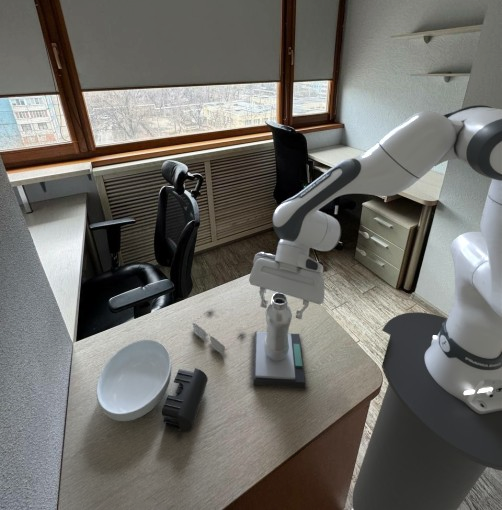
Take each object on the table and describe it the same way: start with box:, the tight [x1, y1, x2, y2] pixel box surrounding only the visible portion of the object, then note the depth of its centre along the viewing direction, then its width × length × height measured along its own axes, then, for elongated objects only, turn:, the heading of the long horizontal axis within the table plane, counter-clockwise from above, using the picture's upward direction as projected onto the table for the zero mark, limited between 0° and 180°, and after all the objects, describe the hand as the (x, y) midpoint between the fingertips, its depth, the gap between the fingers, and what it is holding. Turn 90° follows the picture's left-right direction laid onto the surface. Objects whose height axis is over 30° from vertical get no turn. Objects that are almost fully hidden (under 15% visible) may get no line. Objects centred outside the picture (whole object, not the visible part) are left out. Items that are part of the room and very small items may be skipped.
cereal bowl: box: [95, 339, 173, 422], centre depth 66 cm, size 17×17×7 cm
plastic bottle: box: [264, 292, 293, 361], centre depth 69 cm, size 6×7×20 cm
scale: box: [252, 331, 306, 389], centre depth 74 cm, size 13×13×3 cm
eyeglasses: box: [191, 311, 243, 355], centre depth 81 cm, size 14×8×4 cm, turn 54°
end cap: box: [161, 367, 209, 433], centre depth 63 cm, size 10×7×7 cm
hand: (280, 312), depth 70 cm, fingers open, 8 cm apart
